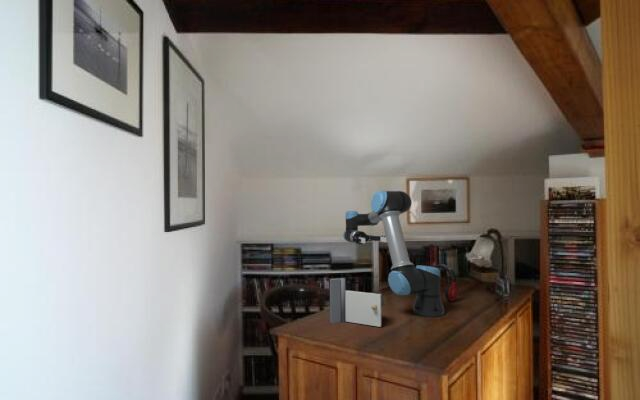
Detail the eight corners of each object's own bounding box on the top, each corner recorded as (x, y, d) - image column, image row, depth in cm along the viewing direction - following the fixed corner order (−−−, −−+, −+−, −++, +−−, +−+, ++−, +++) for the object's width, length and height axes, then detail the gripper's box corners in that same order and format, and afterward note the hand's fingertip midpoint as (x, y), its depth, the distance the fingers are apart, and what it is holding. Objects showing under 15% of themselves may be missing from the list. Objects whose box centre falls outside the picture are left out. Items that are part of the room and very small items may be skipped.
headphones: (460, 301, 207) (460, 265, 207) (450, 304, 200) (450, 267, 201) (434, 295, 220) (433, 261, 221) (423, 297, 214) (423, 263, 215)
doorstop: (370, 298, 183) (385, 286, 168) (374, 316, 178) (391, 305, 164) (353, 299, 180) (368, 287, 165) (358, 318, 175) (372, 307, 161)
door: (344, 322, 168) (343, 291, 168) (346, 320, 171) (346, 290, 171) (379, 327, 160) (379, 295, 160) (381, 326, 163) (381, 294, 163)
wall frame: (331, 323, 168) (331, 279, 168) (329, 322, 170) (329, 278, 170) (346, 322, 170) (346, 278, 170) (344, 320, 172) (343, 277, 173)
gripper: (377, 242, 223) (395, 246, 203) (339, 244, 215) (355, 248, 195) (377, 230, 223) (395, 232, 204) (339, 231, 215) (355, 234, 195)
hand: (376, 240), depth 199 cm, fingers open, 13 cm apart
